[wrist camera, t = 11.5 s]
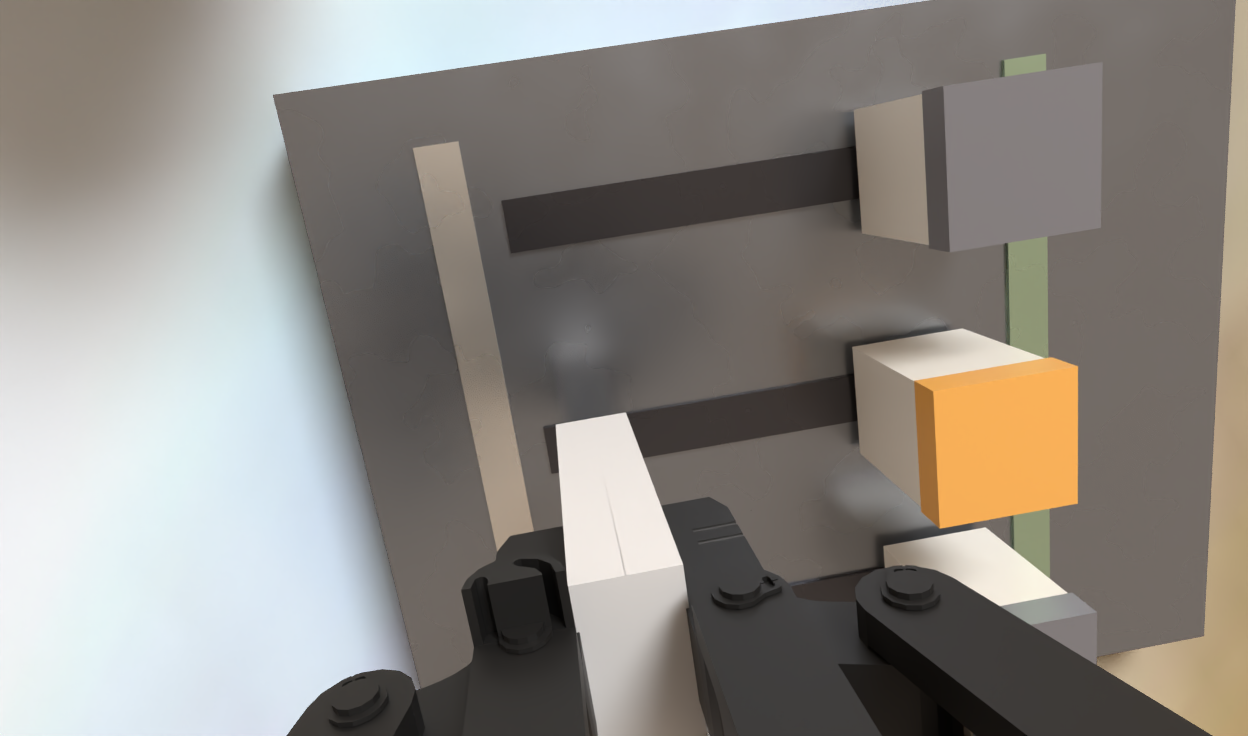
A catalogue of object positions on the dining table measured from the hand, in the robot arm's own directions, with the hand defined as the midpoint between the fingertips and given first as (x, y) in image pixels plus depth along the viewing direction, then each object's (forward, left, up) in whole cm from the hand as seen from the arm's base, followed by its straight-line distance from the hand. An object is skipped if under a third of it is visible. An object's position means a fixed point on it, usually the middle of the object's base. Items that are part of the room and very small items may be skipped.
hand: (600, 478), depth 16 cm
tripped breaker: (+8, 0, -2) cm, 8 cm away
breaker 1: (+8, +5, -3) cm, 10 cm away
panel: (+5, 0, -5) cm, 7 cm away
